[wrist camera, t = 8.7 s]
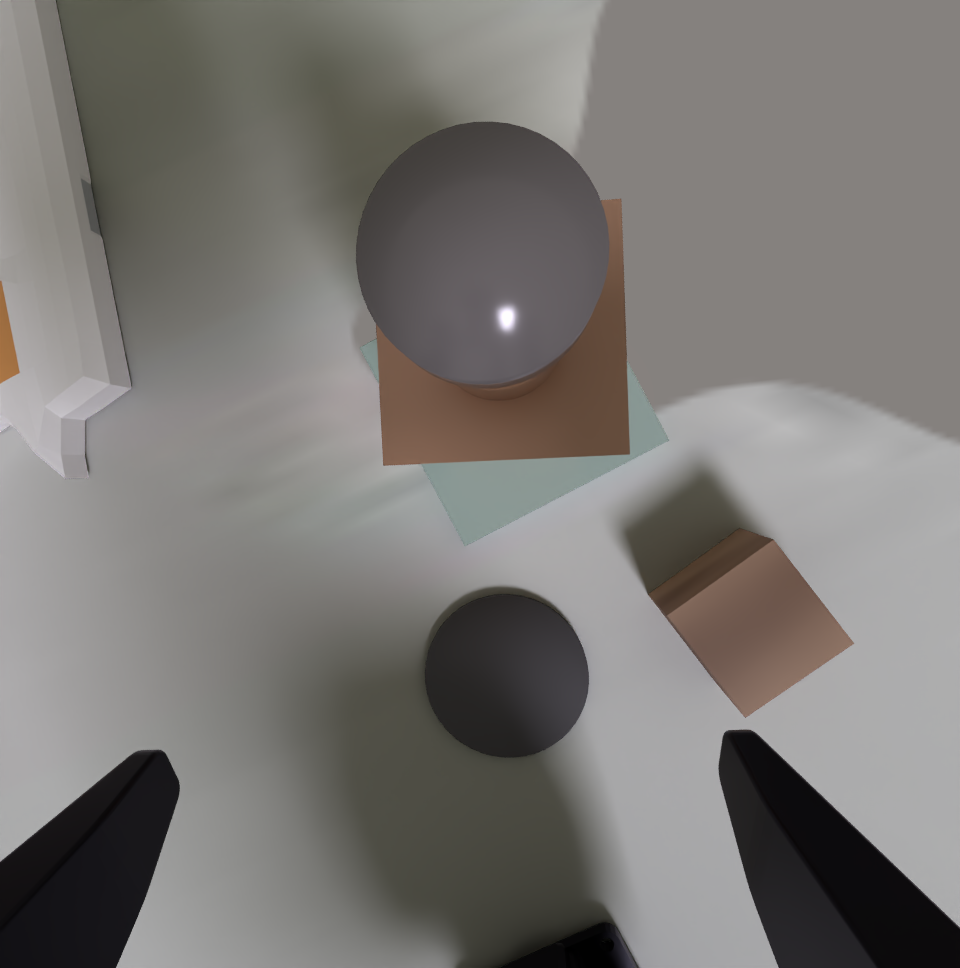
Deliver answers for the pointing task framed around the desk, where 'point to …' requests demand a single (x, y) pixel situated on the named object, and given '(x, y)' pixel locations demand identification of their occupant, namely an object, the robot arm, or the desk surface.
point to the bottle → (495, 301)
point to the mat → (526, 472)
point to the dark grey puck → (507, 676)
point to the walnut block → (750, 619)
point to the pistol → (50, 251)
